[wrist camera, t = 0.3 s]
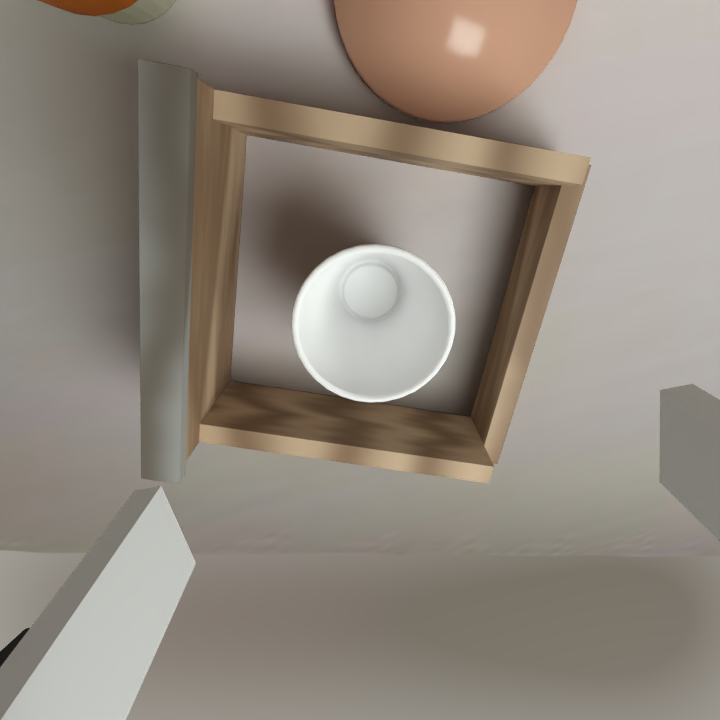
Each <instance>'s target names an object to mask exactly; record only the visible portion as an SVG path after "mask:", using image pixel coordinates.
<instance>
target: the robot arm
mask: <svg viewBox="0 0 720 720" xmlns="http://www.w3.org/2000/svg"><path fill="white" fill-rule="evenodd" d="M660 483H661V484H662V485H663V486H664V487H665V488H666V489H667V490H668V491H669V492H670V493H671V494H672V495H673V496H674V497H675V498H676V499H677V500H678V501H679V502H681V503H682V504H683V505H684V506H685V507H686V508H687V509H688V510H689V511H690V512H691V513H692V514H693V515H694V516H695V517H696V518H697V519H698V520H699V521H700V522H701V523H702V524H703V525H704V526H705V527H706V528H707V529H708V530H709V531H710V532H711V533H712V534H713V535H714V536H715V537H716V538H717V539H718V540H719V541H720V400H719V399H717V398H715V397H714V396H712V395H710V394H709V393H707V392H705V391H704V390H702V389H700V388H698V387H697V386H695V385H693V384H690V385H684V386H679V387H674V388H669V389H663V390H660ZM195 564H196V562H195V560H194V558H193V556H192V554H191V551H190V549H189V547H188V545H187V542H186V540H185V538H184V536H183V533H182V531H181V529H180V527H179V525H178V522H177V520H176V518H175V516H174V513H173V511H172V509H171V507H170V505H169V502H168V500H167V498H166V496H165V493H164V491H163V489H162V487H161V486H157V487H152V488H147V489H142V490H136V491H134V492H133V494H132V495H131V496H130V498H129V499H128V500H127V502H126V503H125V504H124V505H123V507H122V508H121V509H120V511H119V512H118V513H117V515H116V516H115V517H114V519H113V520H112V521H111V523H110V524H109V525H108V526H107V528H106V529H105V530H104V532H103V533H102V534H101V536H100V537H99V538H98V540H97V541H96V542H95V544H94V545H93V546H92V548H91V549H90V550H89V551H88V553H87V554H86V555H85V557H84V558H83V559H82V561H81V562H80V563H79V565H78V566H77V567H76V569H75V570H74V571H73V572H72V574H71V575H70V576H69V578H68V579H67V580H66V582H65V583H64V584H63V586H62V587H61V588H60V590H59V591H58V592H57V594H56V595H55V596H54V598H53V599H52V600H51V601H50V603H49V604H48V605H47V607H46V608H45V609H44V611H43V612H42V613H41V615H40V616H39V617H38V618H37V620H36V621H35V622H34V624H33V625H32V627H31V628H27V629H25V630H24V631H22V632H21V633H20V634H19V635H18V636H17V637H16V638H15V639H14V640H12V641H11V642H10V643H9V644H8V645H7V646H6V647H5V648H4V649H3V650H1V651H0V720H126V718H127V716H128V713H129V711H130V709H131V707H132V704H133V702H134V700H135V698H136V696H137V693H138V691H139V689H140V686H141V684H142V682H143V680H144V678H145V675H146V673H147V671H148V669H149V666H150V664H151V662H152V660H153V658H154V655H155V653H156V651H157V649H158V647H159V644H160V642H161V640H162V638H163V635H164V633H165V631H166V629H167V626H168V624H169V622H170V620H171V618H172V615H173V613H174V611H175V609H176V606H177V604H178V602H179V600H180V597H181V595H182V593H183V591H184V589H185V586H186V584H187V582H188V579H189V577H190V575H191V573H192V571H193V568H194V566H195Z"/></svg>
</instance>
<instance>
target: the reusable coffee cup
mask: <svg viewBox="0 0 720 720" xmlns="http://www.w3.org/2000/svg"><path fill="white" fill-rule="evenodd" d="M38 1H41V2H44V3H47V4H49V5H52V6H55V7H57V8H60V9H63V10H66V11H69V12H72V13H75V14H82V15H90V16H102V17H104V18H107V19H110V20H112V21H115V22H118V23H124V24H140V23H146V22H149V21H151V20H154V19H156V18H158V17H159V16H161V15H162V14H163V13H165V12H166V11H167V10H168V9H169V8H170V7H171V6H172V5H173V4H174V2H175V1H176V0H38Z"/></svg>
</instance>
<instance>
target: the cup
mask: <svg viewBox="0 0 720 720" xmlns="http://www.w3.org/2000/svg"><path fill="white" fill-rule="evenodd" d="M291 328H292V336H293V342H294V345H295V348H296V351H297V354H298V356H299V358H300V360H301V362H302V363H303V365H304V367H305V368H306V370H307V371H308V372H309V373H310V374H311V375H312V376H313V378H314V379H315V380H316V381H317V382H319V383H320V384H321V385H323V386H324V387H325V388H326V389H328V390H330V391H332V392H334V393H336V394H337V395H339V396H342V397H345V398H348V399H351V400H355V401H362V402H386V401H390V400H394V399H398V398H401V397H404V396H406V395H408V394H410V393H413V392H415V391H416V390H417V389H419V388H420V387H422V386H423V385H425V384H426V383H427V382H428V381H429V380H430V379H431V378H432V377H433V376H434V375H435V374H436V373H437V372H438V371H439V369H440V368H441V367H442V365H443V364H444V362H445V361H446V359H447V357H448V354H449V352H450V349H451V347H452V344H453V339H454V334H455V311H454V306H453V301H452V298H451V296H450V294H449V291H448V289H447V287H446V284H445V283H444V282H443V280H442V279H441V277H440V276H439V275H438V273H437V272H436V271H435V270H434V269H433V268H432V267H431V266H430V265H429V264H428V263H427V262H425V261H424V260H423V259H421V258H419V257H418V256H416V255H414V254H413V253H411V252H409V251H406V250H404V249H401V248H398V247H395V246H389V245H382V244H367V245H358V246H354V247H351V248H347V249H344V250H341V251H339V252H337V253H335V254H334V255H332V256H330V257H328V258H327V259H325V260H324V261H323V262H322V263H320V264H319V265H318V266H317V267H315V268H314V269H313V271H312V272H311V273H310V274H309V276H308V277H307V278H306V279H305V280H304V282H303V284H302V286H301V288H300V290H299V292H298V294H297V296H296V299H295V303H294V306H293V310H292V322H291Z"/></svg>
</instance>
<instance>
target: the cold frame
mask: <svg viewBox="0 0 720 720" xmlns="http://www.w3.org/2000/svg"><path fill="white" fill-rule="evenodd" d="M247 135H250V136H255V137H261V138H267V139H272V140H278V141H284V142H289V143H295V144H301V145H306V146H312V147H317V148H323V149H329V150H334V151H340V152H346V153H351V154H357V155H363V156H368V157H374V158H379V159H385V160H391V161H396V162H402V163H408V164H413V165H419V166H425V167H430V168H436V169H441V170H447V171H453V172H458V173H464V174H470V175H475V176H481V177H487V178H492V179H498V180H503V181H509V182H515V183H520V184H526V185H532V186H535V188H534V191H533V195H532V198H531V202H530V206H529V209H528V213H527V216H526V220H525V224H524V227H523V231H522V234H521V238H520V242H519V245H518V249H517V252H516V256H515V260H514V263H513V267H512V270H511V274H510V277H509V281H508V285H507V288H506V292H505V295H504V299H503V303H502V306H501V310H500V313H499V317H498V321H497V324H496V328H495V331H494V335H493V339H492V342H491V346H490V349H489V353H488V357H487V360H486V364H485V367H484V371H483V374H482V378H481V382H480V385H479V389H478V392H477V396H476V400H475V403H474V407H473V410H472V414H471V417H468V416H461V415H454V414H448V413H441V412H434V411H428V410H421V409H414V408H408V407H401V406H395V405H388V404H381V403H375V402H362V401H355V400H351V399H348V398H341V397H335V396H328V395H322V394H315V393H308V392H302V391H295V390H288V389H282V388H275V387H268V386H262V385H255V384H249V383H242V382H235V381H230V376H231V361H232V347H233V332H234V317H235V302H236V287H237V272H238V258H239V243H240V228H241V213H242V198H243V183H244V168H245V154H246V139H247ZM138 152H139V273H140V394H141V478H142V479H150V480H157V481H164V482H171V483H178V484H179V483H180V482H181V480H182V479H183V477H184V475H185V464H186V461H187V459H188V458H189V456H190V455H191V453H192V452H193V450H194V449H195V447H196V446H197V444H198V443H199V442H204V443H211V444H218V445H225V446H232V447H239V448H246V449H253V450H260V451H267V452H274V453H281V454H288V455H295V456H302V457H309V458H316V459H323V460H329V461H336V462H343V463H350V464H357V465H364V466H371V467H378V468H385V469H392V470H399V471H406V472H413V473H420V474H427V475H434V476H441V477H448V478H455V479H462V480H469V481H476V482H483V483H489V482H490V479H491V476H492V472H493V469H494V465H493V463H494V464H497V463H498V460H499V457H500V454H501V451H502V447H503V444H504V441H505V438H506V435H507V432H508V428H509V425H510V422H511V419H512V416H513V412H514V409H515V406H516V403H517V400H518V397H519V393H520V390H521V387H522V384H523V381H524V377H525V374H526V371H527V368H528V365H529V362H530V358H531V355H532V352H533V349H534V346H535V342H536V339H537V336H538V333H539V330H540V327H541V323H542V320H543V317H544V314H545V311H546V307H547V304H548V301H549V298H550V295H551V292H552V288H553V285H554V282H555V279H556V276H557V272H558V269H559V266H560V263H561V260H562V257H563V253H564V250H565V247H566V244H567V241H568V237H569V234H570V231H571V228H572V225H573V222H574V218H575V215H576V212H577V209H578V206H579V202H580V199H581V196H582V193H583V190H584V187H585V183H586V180H587V177H588V174H589V171H590V167H591V165H589V162H590V158H589V157H584V156H578V155H573V154H567V153H562V152H556V151H551V150H545V149H540V148H534V147H529V146H523V145H518V144H512V143H507V142H501V141H496V140H490V139H485V138H479V137H474V136H468V135H463V134H457V133H452V132H446V131H441V130H435V129H430V128H424V127H419V126H413V125H408V124H402V123H397V122H391V121H386V120H380V119H375V118H369V117H364V116H358V115H353V114H347V113H342V112H336V111H331V110H325V109H320V108H314V107H309V106H303V105H298V104H292V103H287V102H281V101H276V100H270V99H265V98H259V97H254V96H248V95H243V94H237V93H231V92H226V91H220V90H215V89H213V88H212V87H210V86H209V85H207V84H206V83H204V82H203V81H201V80H200V79H198V73H196V72H195V71H193V70H192V69H191V68H186V67H180V66H175V65H169V64H164V63H158V62H153V61H147V60H142V59H138Z"/></svg>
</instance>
